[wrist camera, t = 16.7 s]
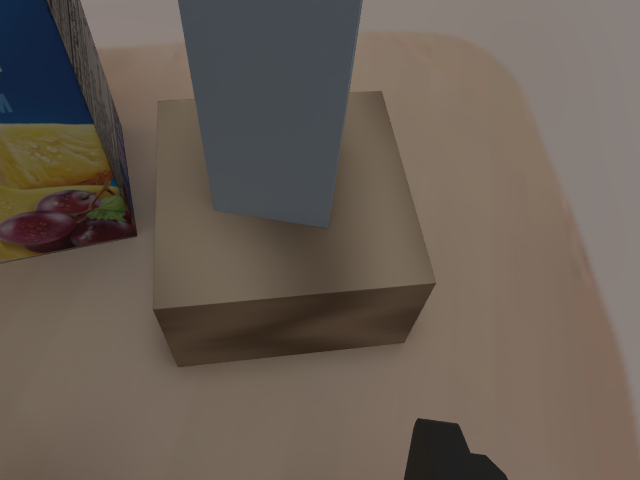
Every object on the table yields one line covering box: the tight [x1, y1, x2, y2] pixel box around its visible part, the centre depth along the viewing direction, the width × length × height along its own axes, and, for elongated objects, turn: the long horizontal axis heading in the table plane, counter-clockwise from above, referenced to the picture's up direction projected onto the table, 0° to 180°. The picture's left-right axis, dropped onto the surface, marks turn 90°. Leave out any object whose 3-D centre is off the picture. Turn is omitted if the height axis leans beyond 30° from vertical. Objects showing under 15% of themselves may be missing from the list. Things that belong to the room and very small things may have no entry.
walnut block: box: [153, 91, 436, 367], centre depth 24 cm, size 10×10×6 cm
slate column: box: [178, 0, 363, 228], centre depth 18 cm, size 4×4×10 cm
